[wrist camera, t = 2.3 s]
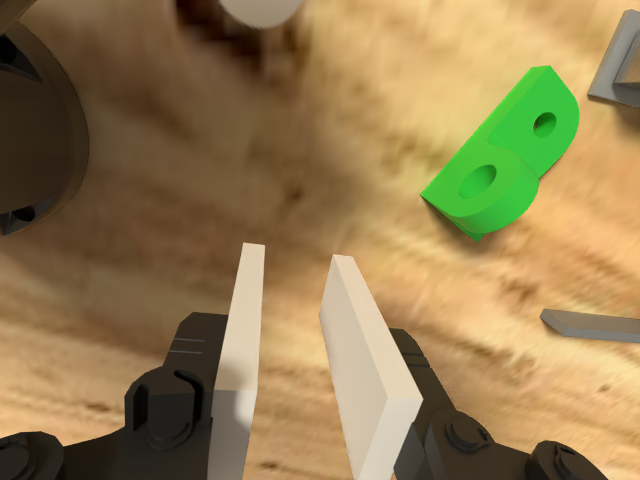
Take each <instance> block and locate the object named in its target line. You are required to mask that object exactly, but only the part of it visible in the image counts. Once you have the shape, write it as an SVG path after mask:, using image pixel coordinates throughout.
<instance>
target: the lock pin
mask: <svg viewBox="0 0 640 480" xmlns="http://www.w3.org/2000/svg"><path fill="white" fill-rule="evenodd" d="M614 83H615V84H619V85H623V86H626V87H630V88H633V89H637V90H640V28H639V30H638V32H637V34H636V37H635V39H634V41H633V43H632V45H631V47H630V49H629V51H628V53H627V56H626V58H625V60H624V62H623V64H622V66H621V68H620V70H619V72H618V75H617V77H616V79H615V81H614Z"/></svg>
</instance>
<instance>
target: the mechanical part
mask: <svg viewBox="0 0 640 480" xmlns="http://www.w3.org/2000/svg"><path fill="white" fill-rule="evenodd" d="M537 118H539V122H538V126H537V128H536V129H535V130H534V131H533V126H534V123H535V121H536V119H537ZM578 124H579V108H578V104H577V101H576V99H575V97H574V96H573V94H572V93H571V92H570V91H569V89H568V88H567V87H566V85H565V84H564V83H563V81H562V80H561V79H560V78H559V76H558V75H557V74H556V72H555V71H554V70H553V69H552V67H551V66H541V67H532V68H531V69H530V70H529V71H528V72H527V73H526V74H525V76H524V77H523V78H522V79H521V80H520V81H519V82H518V84H517V85H516V86H515V87H514V88H513V89H512V90H511V92H510V93H509V94H508V95H507V96H506V97H505V98H504V100H503V101H502V102H501V103H500V104H499V105H498V106H497V108H496V109H495V110H494V111H493V112H492V113H491V114H490V116H489V117H488V118H487V119H486V120H485V121H484V122H483V124H482V125H481V126H480V127H479V128H478V129H477V130H476V131H475V133H474V134H473V135H472V136H471V137H470V138H469V139H468V141H467V142H466V143H465V144H464V145H463V146H462V147H461V149H460V150H459V151H458V152H457V153H456V154H455V155H454V157H453V158H452V159H451V160H450V161H449V162H448V163H447V165H446V166H445V167H444V168H443V169H442V170H441V171H440V173H439V174H438V175H437V176H436V177H435V178H434V179H433V181H432V182H431V183H430V184H429V185H428V186H427V187H426V189H425V190H424V191H423V192H422V193H421V194H420V195H421V196H422V197H423V198H424V199H426V200H427V201H428V202H429V203H430V204H431V205H433V206H434V207H435V208H436V209H437V210H438V211H440V212H441V213H442V214H443V215H444V216H445V217H447V218H448V219H449V220H450V221H451V222H453V223H454V224H455V225H456V226H457V227H458V228H460V229H461V230H462V231H463V232H464V233H465V234H467V235H468V236H469V237H471V238H472V239H474V240H475V241H476V242H478V241H479V240H480V239H481V238H482V237H483V236H484V235H485V234H486V233H489V232H493V231H496V230H499V229H501V228H503V227H505V226H507V225H509V224H510V223H512V222H513V221H515V220H516V219H517V218H519V217H520V216H521V215H522V214H523V213H524V212H525V211H526V210H527V209H528V207H529V206H530V205H531V203H532V202H533V200H534V198H535V196H536V194H537V191H538V187H539V180H538V179H539V178H540V177H541V176H542V175H543V174H544V173H545V172H546V171H547V170H548V169H549V168H550V167H551V166H552V165H553V164H554V163H555V162H556V161H557V160H558V159H559V158H560V157H561V156H562V154H563V153H564V152H565V151H566V150H567V149H568V147H569V146H570V144H571V142H572V141H573V139H574V137H575V134H576V132H577V128H578Z"/></svg>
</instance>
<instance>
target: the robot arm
mask: <svg viewBox="0 0 640 480" xmlns="http://www.w3.org/2000/svg"><path fill="white" fill-rule="evenodd" d="M36 1H37V0H0V237H4V236H8V235H12V234H15V233H18V232H20V231H23V230H25V229H27V228H29V227H31V226H33V225H35V224H37V223H39V222H41V221H43V220H45V219H46V218H48V217H50V216H52V215H53V214H55V213H56V212H58V211H59V210H60V209H62V208H63V207H64V206H65V205H66V204H67V203H68V202H69V201H70V200H71V198H72V197H73V196H74V194H75V193H76V191H77V190H78V188H79V186H80V184H81V182H82V180H83V177H84V174H85V171H86V167H87V162H88V154H89V140H88V131H87V125H86V120H85V116H84V113H83V110H82V107H81V104H80V102H79V99H78V97H77V94H76V92H75V90H74V88H73V86H72V84H71V83H70V81H69V79H68V77H67V76H66V74H65V72H64V71H63V69H62V68H61V66H60V65H59V64H58V62H57V61H56V59H55V58H54V57H53V56H52V54H51V53H50V52H49V51H48V49H47V48H46V47H45V46H44V45H43V44H42V43H41V42H40V41H39V40H38V39H37V38H36V37H35V36H34V35H33V34H32V33H31V32H30V31H29V30H28V29H27V28H26V27H25V26H23V25H22V24H21V23H20V22H19V21H17V20H18V19H19V18H20V17H21V16H22V15H23V14H24V13H25V12H26V11H27V10H28V9H29V8H30V7H31V6H32V5H33V4H34V3H35V2H36ZM264 256H265V245H259V244H251V243H243V248H242V253H241V258H240V263H239V268H238V273H237V278H236V283H235V288H234V293H233V298H232V302H231V307H230V312H229V315H221V314H210V313H199V312H193V313H191V314H190V315H189V316H188V317H187V318H186V319H184V320H183V321H182V322H181V323H180V325H179V327H178V330H177V332H176V335H175V337H174V340H173V342H172V345H171V347H170V350H169V352H168V354H167V357H166V359H165V362H164V364H163V366H161V367H158V368H156V369H153V370H151V371H149V372H146V373H144V374H143V375H142V376H141V377H139V378H138V379H137V380H136V381H135V382H133V383H132V385H131V386H130V388H129V390H128V391H127V393H126V395H125V396H124V397H125V427H123V428H121V429H119V430H117V431H115V432H113V433H111V434H108V435H105V436H102V437H99V438H96V439H92V440H88V441H84V442H80V443H76V444H72V445H68V446H64V447H63V446H62V444H61V443H60V442H59V441H58V439H57V438H56V437H55V436H53V435H50V434H47V433H44V432H41V431H38V432H20V433H17V434H14V435H10V436H7V437H4V438H0V480H242V477H243V471H244V465H245V459H246V454H247V448H248V442H249V436H250V430H251V425H252V419H253V413H254V407H255V401H256V396H257V386H258V367H259V348H260V330H261V311H262V293H263V274H264ZM319 318H320V323H321V328H322V332H323V337H324V342H325V347H326V351H327V356H328V361H329V366H330V370H331V375H332V380H333V385H334V389H335V394H336V399H337V404H338V408H339V413H340V418H341V423H342V427H343V432H344V437H345V442H346V446H347V451H348V456H349V461H350V465H351V470H352V475H353V480H390V478H391V476H392V474H393V471H394V472H395V475H396V478H397V480H608V479H607V478H606V477H605V476H604V475H603V474H602V473H601V472H600V470H599V469H598V468H597V467H595V466H594V465H593V464H592V463H591V462H590V461H589V460H587V459H586V458H585V457H584V456H583V455H581V454H580V453H578V452H576V451H575V450H573V449H572V448H570V447H568V446H566V445H563V444H561V443H558V442H556V441H547V440H545V441H542V442H540V443H538V444H537V446H536V447H535V449H534V451H533V452H532V454H528V453H525V452H522V451H519V450H516V449H513V448H510V447H507V446H504V445H501V444H498V443H495V441H494V440H493V438H492V437H491V436H490V434H489V433H488V431H487V430H486V429H485V428H484V427H483V426H482V425H481V424H480V423H478V422H477V421H476V420H475V419H473V418H472V417H470V416H468V415H466V414H465V413H463V412H459V411H457V410H456V409H455V407H454V405H453V404H452V402H451V400H450V399H449V397H448V395H447V393H446V392H445V390H444V388H443V387H442V385H441V383H440V381H439V380H438V378H437V376H436V375H435V373H434V371H433V369H432V368H430V364H429V363H428V361H427V359H426V358H425V357H424V356H423V355H424V354H423V352H422V351H421V349H420V347H419V346H418V344H417V342H416V341H415V340H414V339H413V338H412V337H411V336H410V335H409V334H408V333H407V332H405V331H404V330H403V329H393V328H388V327H387V325H386V323H385V321H384V319H383V317H382V315H381V313H380V311H379V309H378V307H377V305H376V303H375V301H374V299H373V297H372V295H371V293H370V291H369V289H368V287H367V285H366V283H365V281H364V279H363V277H362V275H361V273H360V271H359V269H358V267H357V265H356V263H355V261H354V259H353V257H351V256H344V255H336V254H333V256H332V261H331V265H330V269H329V274H328V278H327V282H326V286H325V291H324V295H323V299H322V303H321V308H320V312H319Z"/></svg>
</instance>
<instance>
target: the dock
mask: <svg viewBox="0 0 640 480" xmlns="http://www.w3.org/2000/svg"><path fill="white" fill-rule="evenodd" d="M639 28H640V12H638V11H635V10H632V9H631V10H627V11H625V12H624V14H623V16H622V18H621V20H620V23H619V25H618V27H617V29H616V32H615V34H614V36H613V38H612V40H611V43H610V45H609V47H608V49H607V51H606V54H605V56H604V58H603V60H602V62H601V65H600V67H599V69H598V71H597V74H596V76H595V78H594V80H593V82H592V85H591V87H590V89H589V91H588V93H587V95H591V96H595V97H599V98H602V99H606V100H610V101H614V102H618V103H621V104H625V105H629V106H633V107H636V108H640V90H637V89H633V88H630V87H626V86H623V85H619V84H615V83H614V81H615V79H616V77H617V75H618V72H619V70H620V68H621V66H622V64H623V62H624V60H625V58H626V56H627V53H628V51H629V49H630V47H631V45H632V43H633V41H634V39H635V37H636V34H637V32H638V30H639ZM540 318H542V319H543V320H544V321H545V322H547V323H548V324H549V325H550V326H551V327H553V328H554V329H555V330H556V331H557V332H559V333H560V334H561V335H562V336H569V337H580V338H590V339H601V340H611V341H622V342H633V343H640V319H631V318H622V317H613V316H604V315H595V314H586V313H577V312H568V311H559V310H550V309H544V310H543V312H542V314H541V316H540Z"/></svg>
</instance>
